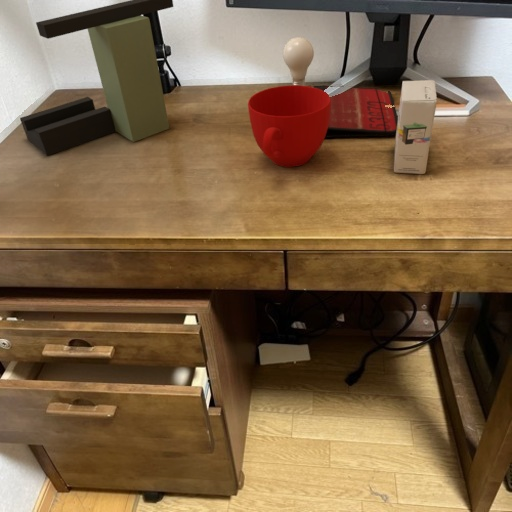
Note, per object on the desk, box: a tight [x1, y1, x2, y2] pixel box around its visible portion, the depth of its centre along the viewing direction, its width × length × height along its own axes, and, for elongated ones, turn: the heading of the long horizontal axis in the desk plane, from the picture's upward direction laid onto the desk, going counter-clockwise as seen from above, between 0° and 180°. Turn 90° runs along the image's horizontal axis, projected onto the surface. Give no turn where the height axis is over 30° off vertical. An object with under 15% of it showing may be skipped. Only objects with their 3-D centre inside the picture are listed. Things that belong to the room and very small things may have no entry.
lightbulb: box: [282, 36, 315, 86], centre depth 104 cm, size 6×6×11 cm
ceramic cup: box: [247, 84, 331, 168], centre depth 79 cm, size 13×17×10 cm
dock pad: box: [19, 96, 116, 157], centre depth 95 cm, size 10×14×4 cm
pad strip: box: [35, 0, 174, 40], centre depth 83 cm, size 3×24×2 cm, turn 133°
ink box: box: [393, 79, 438, 175], centre depth 76 cm, size 8×5×12 cm, turn 167°
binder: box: [312, 85, 398, 138], centre depth 95 cm, size 16×2×21 cm
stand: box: [87, 15, 170, 143], centre depth 90 cm, size 8×8×20 cm
